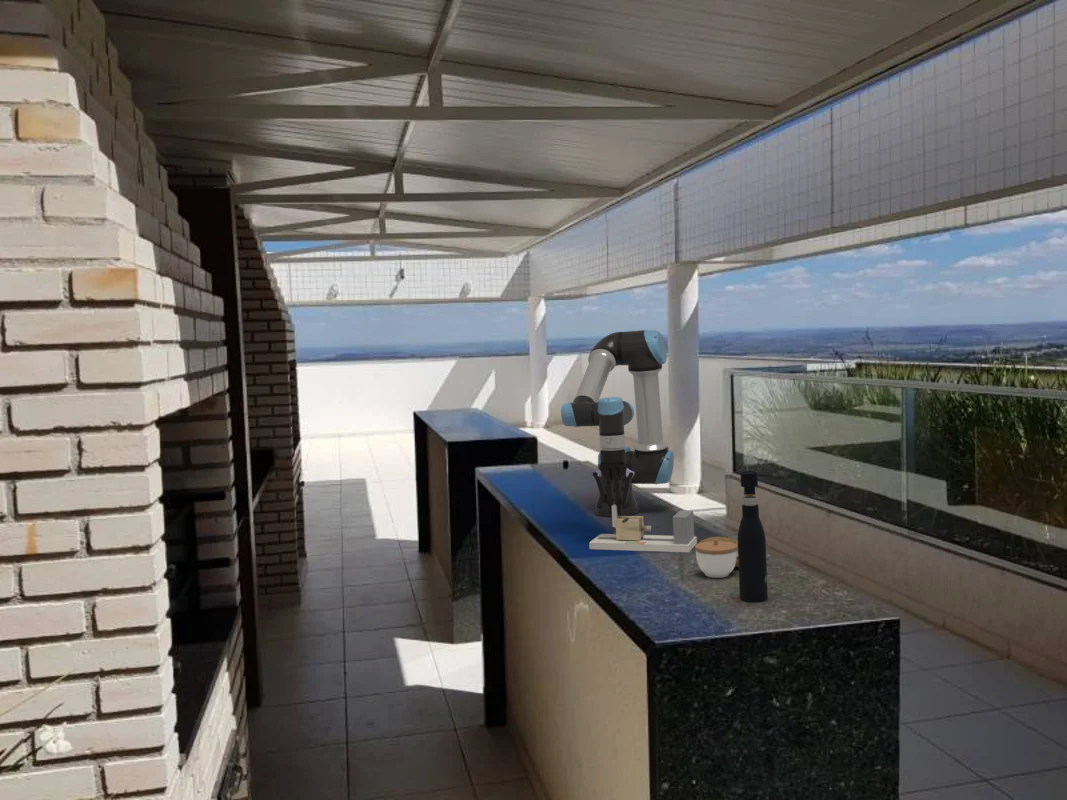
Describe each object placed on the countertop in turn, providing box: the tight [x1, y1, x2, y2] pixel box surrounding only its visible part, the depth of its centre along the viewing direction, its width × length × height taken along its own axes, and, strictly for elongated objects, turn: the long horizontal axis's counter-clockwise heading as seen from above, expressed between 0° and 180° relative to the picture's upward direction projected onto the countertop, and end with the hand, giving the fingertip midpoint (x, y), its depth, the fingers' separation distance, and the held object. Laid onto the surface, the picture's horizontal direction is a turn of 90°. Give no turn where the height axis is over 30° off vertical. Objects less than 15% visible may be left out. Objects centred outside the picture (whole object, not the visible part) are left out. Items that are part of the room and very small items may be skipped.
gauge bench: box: [588, 510, 698, 553], centre depth 278 cm, size 12×30×10 cm, turn 69°
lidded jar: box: [694, 539, 737, 579], centre depth 241 cm, size 11×11×9 cm
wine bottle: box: [736, 470, 769, 603], centre depth 218 cm, size 6×6×30 cm
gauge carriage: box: [615, 515, 652, 540], centre depth 277 cm, size 10×10×7 cm
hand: (616, 526), depth 281 cm, fingers closed
